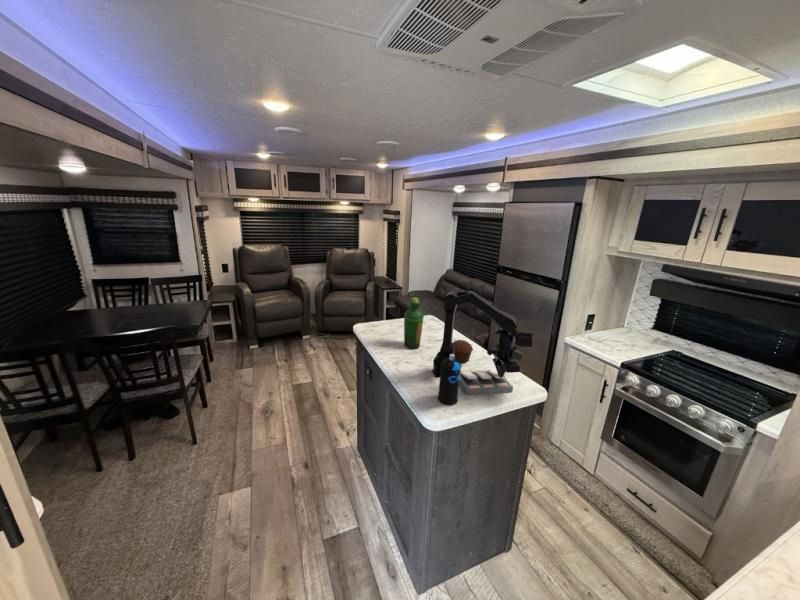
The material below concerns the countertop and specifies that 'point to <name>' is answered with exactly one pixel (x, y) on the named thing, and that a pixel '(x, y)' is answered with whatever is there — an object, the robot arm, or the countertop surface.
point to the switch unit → (484, 385)
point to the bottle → (413, 325)
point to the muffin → (462, 351)
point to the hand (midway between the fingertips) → (500, 376)
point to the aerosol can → (449, 381)
